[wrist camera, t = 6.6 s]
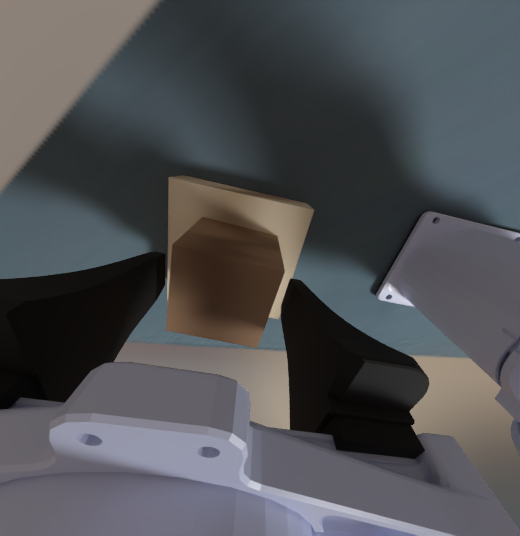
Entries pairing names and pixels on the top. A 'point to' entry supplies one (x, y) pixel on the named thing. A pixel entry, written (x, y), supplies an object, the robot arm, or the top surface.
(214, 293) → the walnut cube
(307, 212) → the maple block
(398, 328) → the top surface
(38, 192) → the top surface
